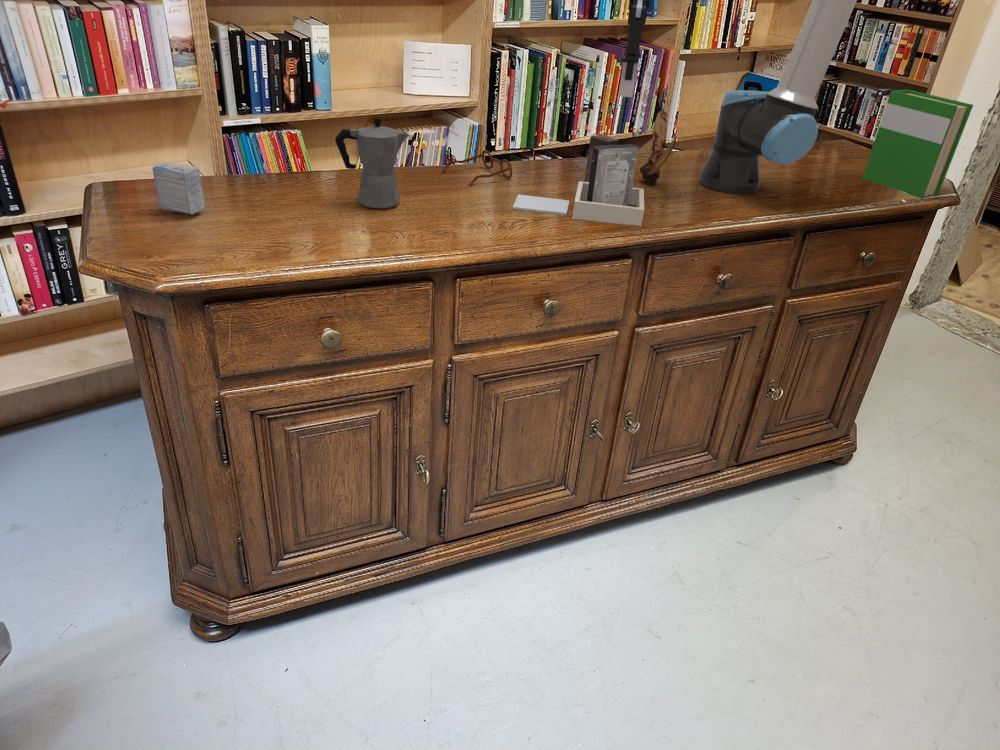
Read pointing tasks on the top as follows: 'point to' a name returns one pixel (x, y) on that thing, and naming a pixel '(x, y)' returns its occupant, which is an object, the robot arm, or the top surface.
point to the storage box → (609, 208)
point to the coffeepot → (375, 162)
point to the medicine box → (178, 187)
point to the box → (597, 141)
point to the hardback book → (916, 142)
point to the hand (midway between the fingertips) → (625, 93)
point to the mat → (541, 204)
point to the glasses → (485, 166)
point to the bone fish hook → (657, 150)
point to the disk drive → (612, 174)
